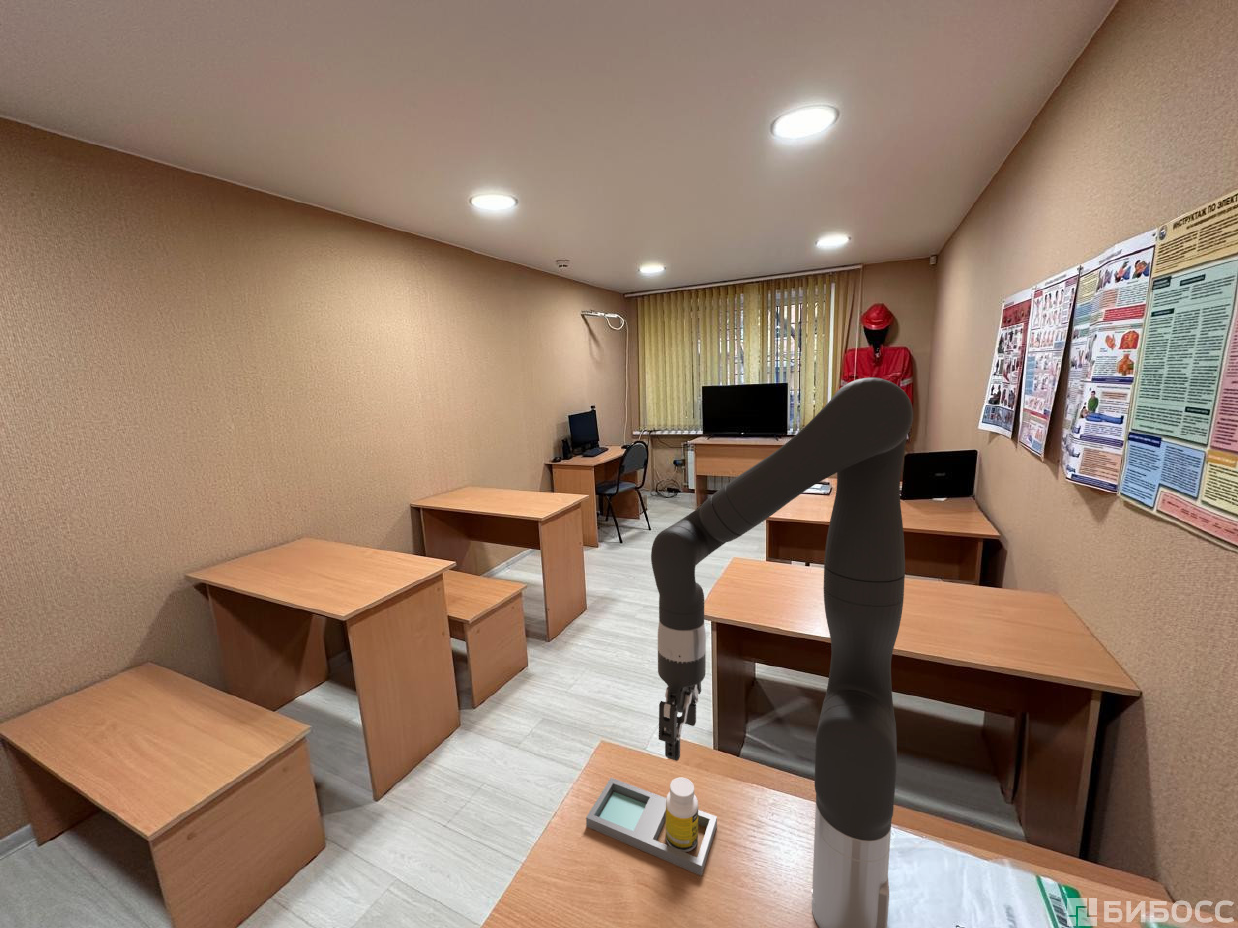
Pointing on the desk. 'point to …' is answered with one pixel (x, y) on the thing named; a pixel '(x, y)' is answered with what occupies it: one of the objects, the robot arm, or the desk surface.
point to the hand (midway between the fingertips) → (681, 739)
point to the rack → (645, 823)
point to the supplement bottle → (682, 815)
